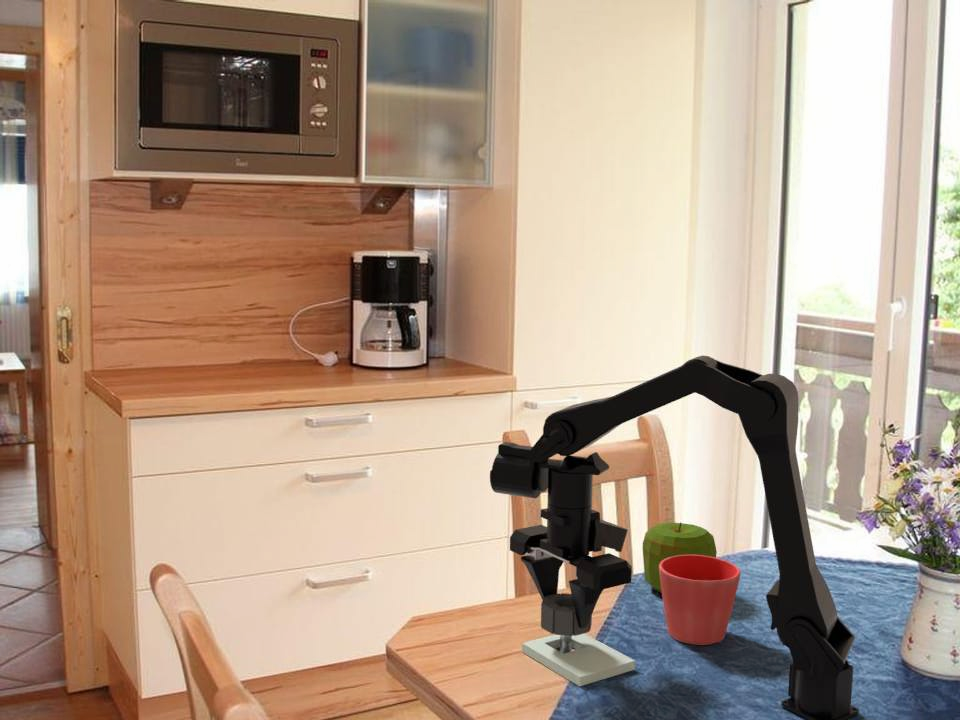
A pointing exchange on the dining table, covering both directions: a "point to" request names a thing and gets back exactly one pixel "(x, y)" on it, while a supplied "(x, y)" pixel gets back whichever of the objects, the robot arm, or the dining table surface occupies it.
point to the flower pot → (698, 597)
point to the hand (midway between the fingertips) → (566, 618)
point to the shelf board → (579, 658)
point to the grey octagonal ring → (561, 616)
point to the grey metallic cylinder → (565, 644)
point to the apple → (673, 546)
